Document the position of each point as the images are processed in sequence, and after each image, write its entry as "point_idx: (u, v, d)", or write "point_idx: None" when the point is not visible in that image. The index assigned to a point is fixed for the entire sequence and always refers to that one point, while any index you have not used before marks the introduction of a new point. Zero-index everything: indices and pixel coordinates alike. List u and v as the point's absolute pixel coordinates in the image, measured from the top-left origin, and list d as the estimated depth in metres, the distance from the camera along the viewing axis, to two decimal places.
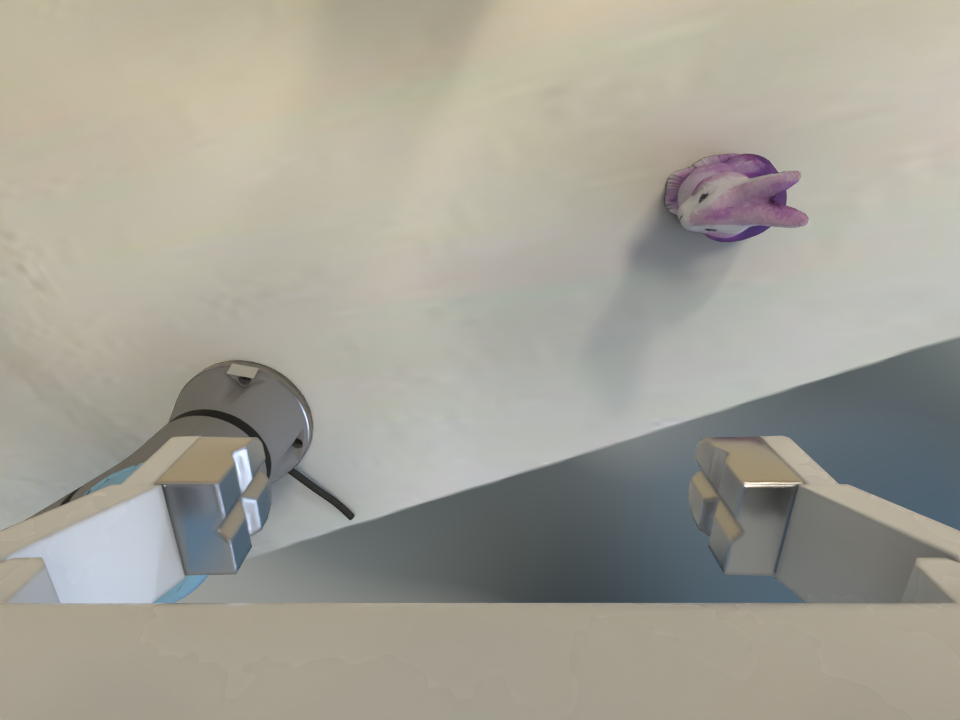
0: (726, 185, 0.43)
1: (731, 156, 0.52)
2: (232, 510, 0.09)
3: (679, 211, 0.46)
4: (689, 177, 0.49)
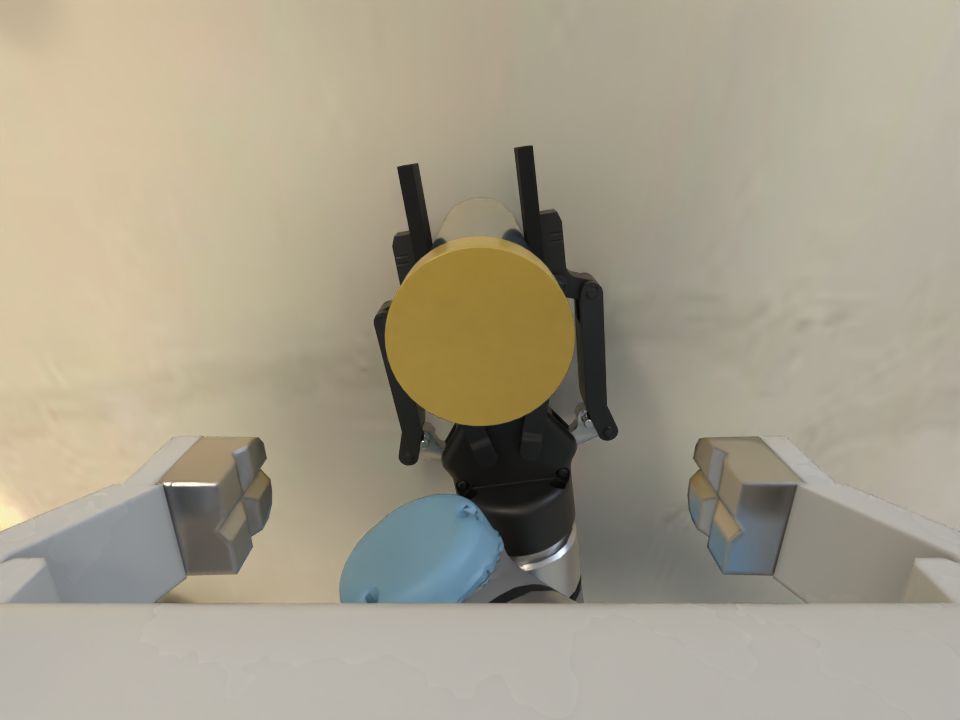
0: None
1: None
2: (233, 510, 0.09)
3: None
4: None
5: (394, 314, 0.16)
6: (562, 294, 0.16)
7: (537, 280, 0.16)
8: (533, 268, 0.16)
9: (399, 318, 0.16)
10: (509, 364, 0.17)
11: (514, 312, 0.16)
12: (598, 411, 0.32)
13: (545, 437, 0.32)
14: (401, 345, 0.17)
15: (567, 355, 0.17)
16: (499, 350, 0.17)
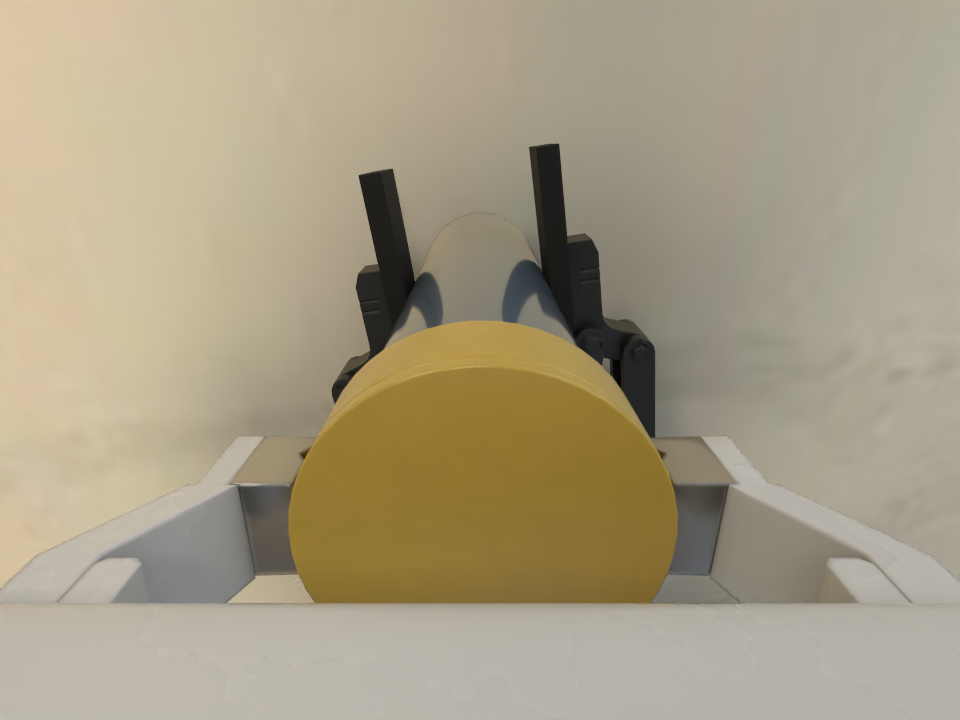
0: None
1: None
2: None
3: None
4: None
5: (304, 495, 0.08)
6: (657, 457, 0.08)
7: (606, 431, 0.07)
8: (598, 408, 0.07)
9: (315, 502, 0.08)
10: (540, 582, 0.08)
11: (555, 491, 0.08)
12: None
13: None
14: (323, 550, 0.08)
15: (659, 566, 0.08)
16: (522, 558, 0.08)
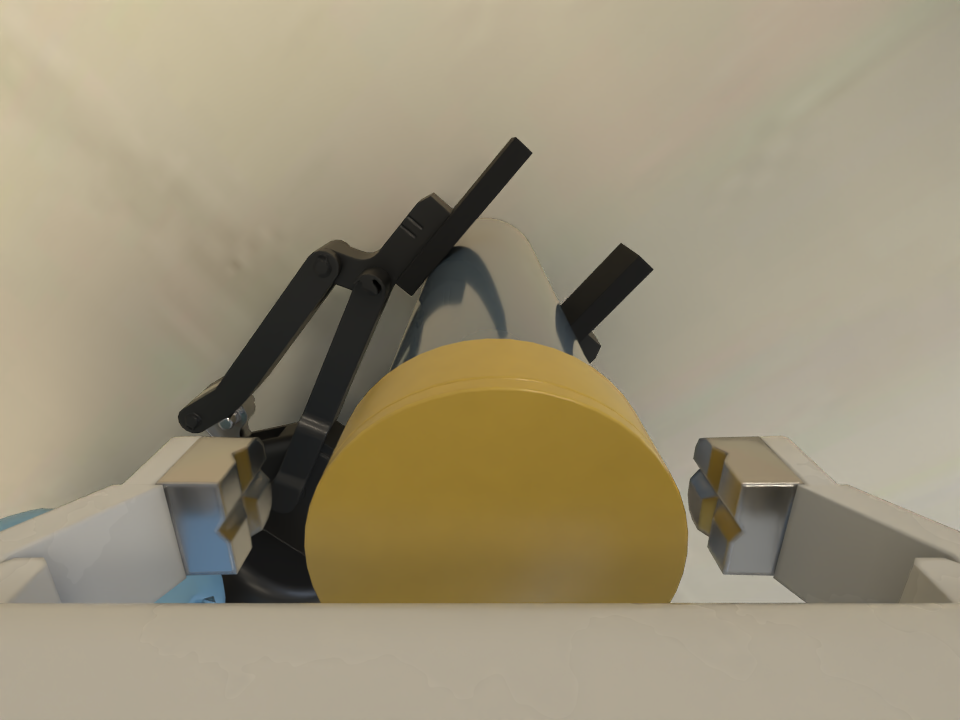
0: None
1: None
2: (233, 510, 0.09)
3: None
4: None
5: (318, 567, 0.08)
6: (622, 427, 0.07)
7: (560, 420, 0.07)
8: (542, 402, 0.07)
9: (331, 570, 0.08)
10: (567, 578, 0.08)
11: (538, 491, 0.08)
12: None
13: None
14: None
15: (676, 527, 0.08)
16: (538, 562, 0.08)
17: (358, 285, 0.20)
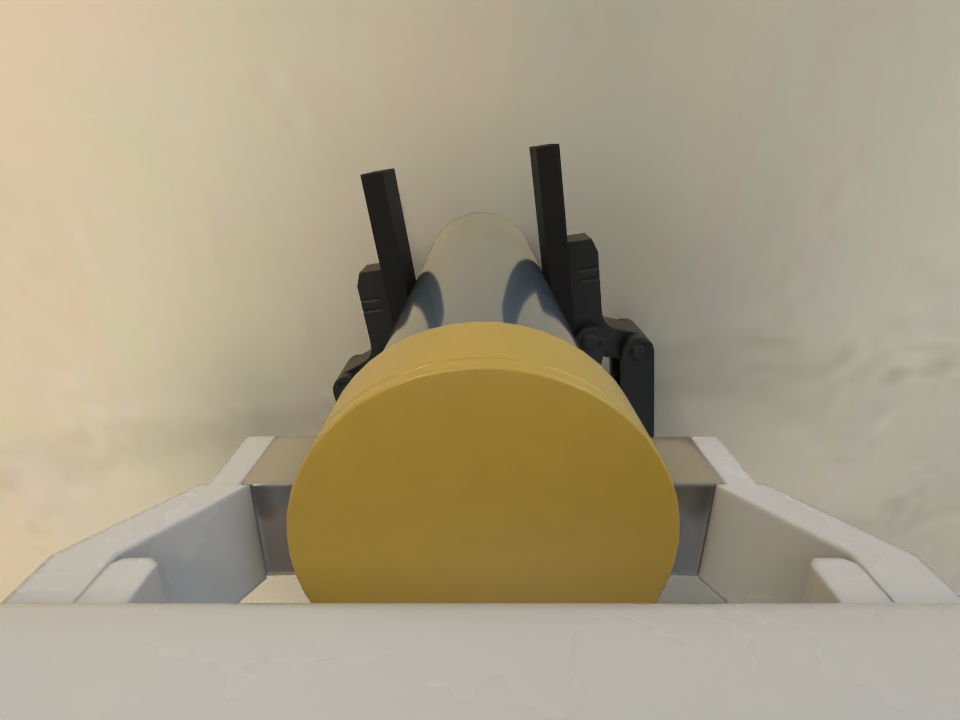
0: None
1: None
2: None
3: None
4: None
5: None
6: (421, 377, 0.07)
7: (378, 420, 0.07)
8: (350, 422, 0.07)
9: None
10: (548, 510, 0.08)
11: (437, 476, 0.08)
12: None
13: None
14: None
15: (570, 395, 0.07)
16: (511, 520, 0.08)
17: None
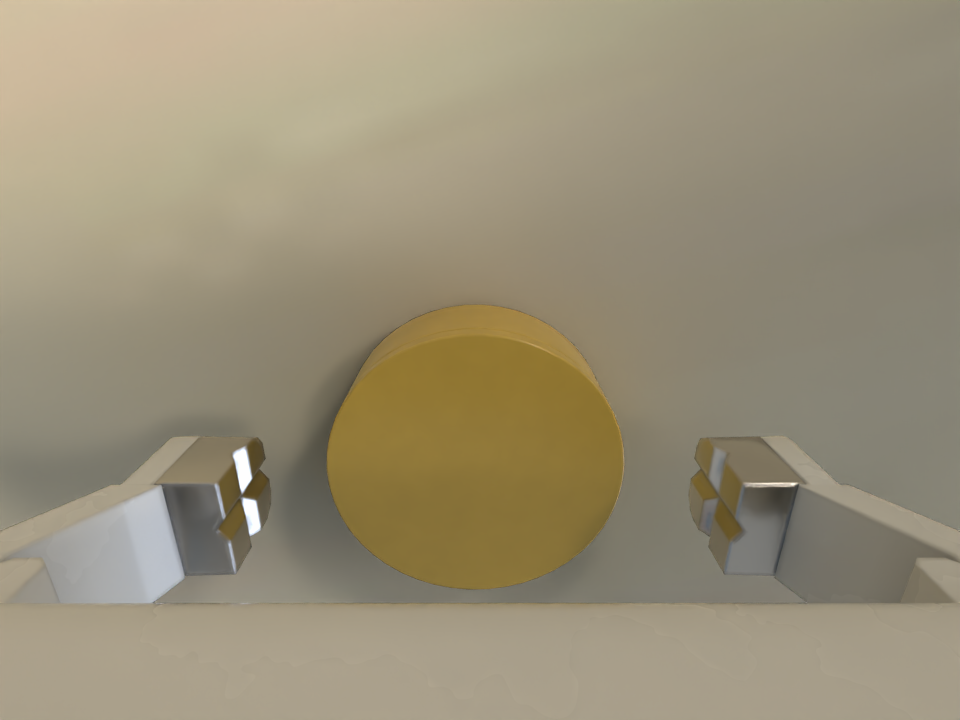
0: None
1: None
2: (232, 510, 0.09)
3: None
4: None
5: (406, 567, 0.12)
6: (425, 344, 0.10)
7: (394, 377, 0.10)
8: (373, 379, 0.10)
9: (413, 563, 0.12)
10: (523, 443, 0.10)
11: (439, 419, 0.10)
12: None
13: None
14: (453, 570, 0.12)
15: (534, 353, 0.10)
16: (496, 452, 0.10)
17: None
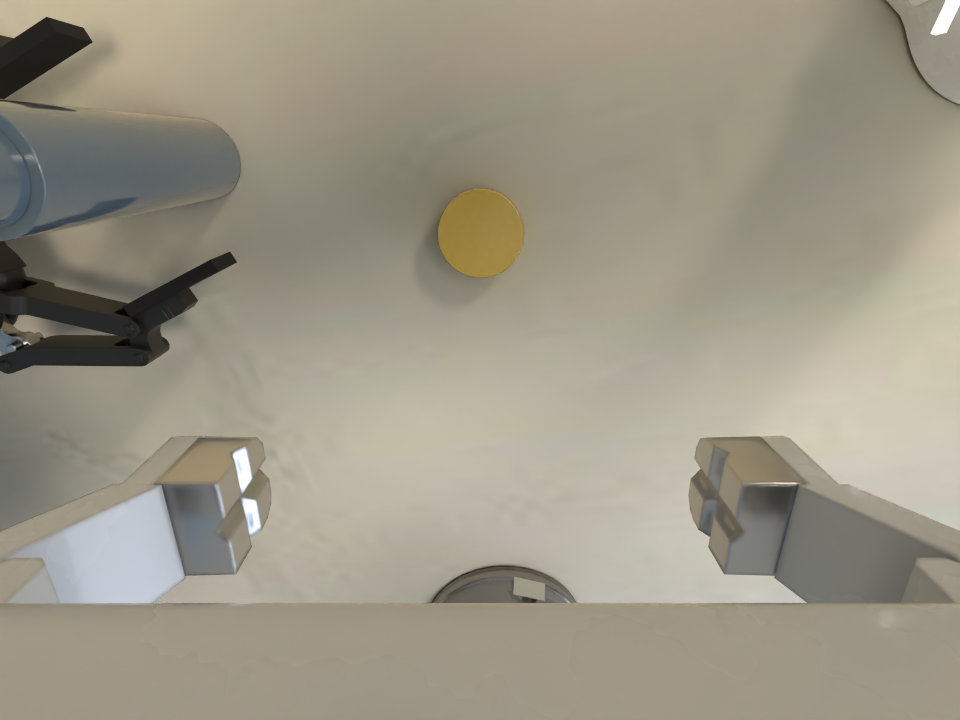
0: None
1: None
2: (232, 510, 0.09)
3: None
4: None
5: (459, 268, 0.38)
6: (467, 193, 0.36)
7: (458, 202, 0.36)
8: (453, 203, 0.36)
9: (461, 267, 0.38)
10: (494, 224, 0.37)
11: (470, 216, 0.36)
12: (25, 357, 0.34)
13: None
14: (473, 269, 0.38)
15: (497, 196, 0.36)
16: (486, 227, 0.37)
17: None
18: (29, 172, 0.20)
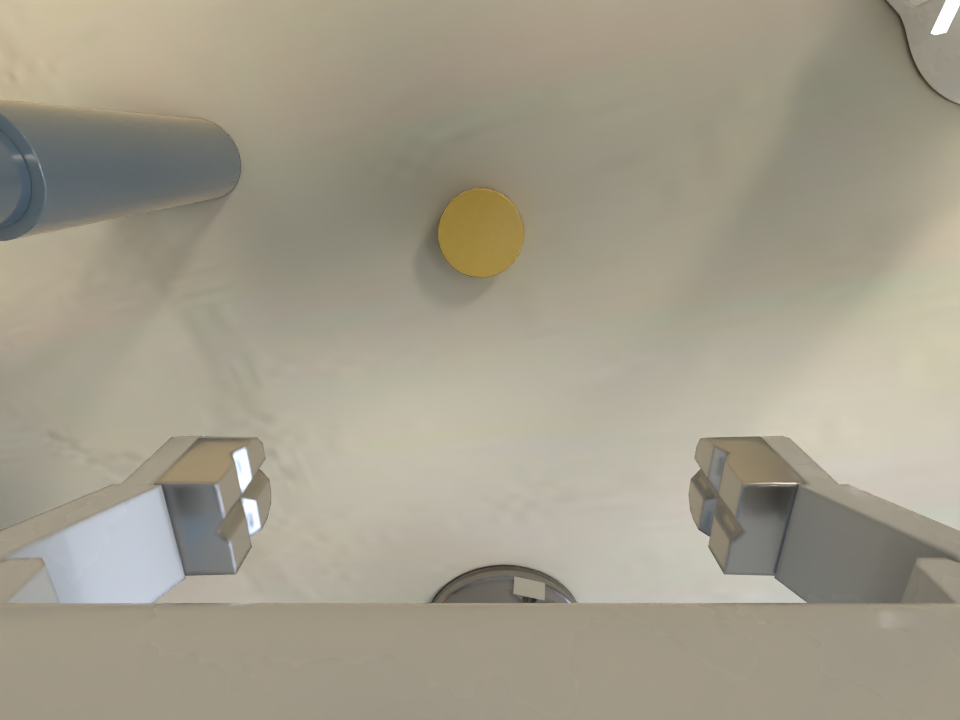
0: None
1: None
2: (232, 510, 0.09)
3: None
4: None
5: (459, 268, 0.38)
6: (467, 192, 0.36)
7: (459, 202, 0.36)
8: (453, 203, 0.36)
9: (461, 266, 0.38)
10: (494, 224, 0.37)
11: (470, 216, 0.36)
12: None
13: None
14: (473, 269, 0.38)
15: (497, 196, 0.36)
16: (486, 227, 0.37)
17: None
18: (29, 171, 0.20)
